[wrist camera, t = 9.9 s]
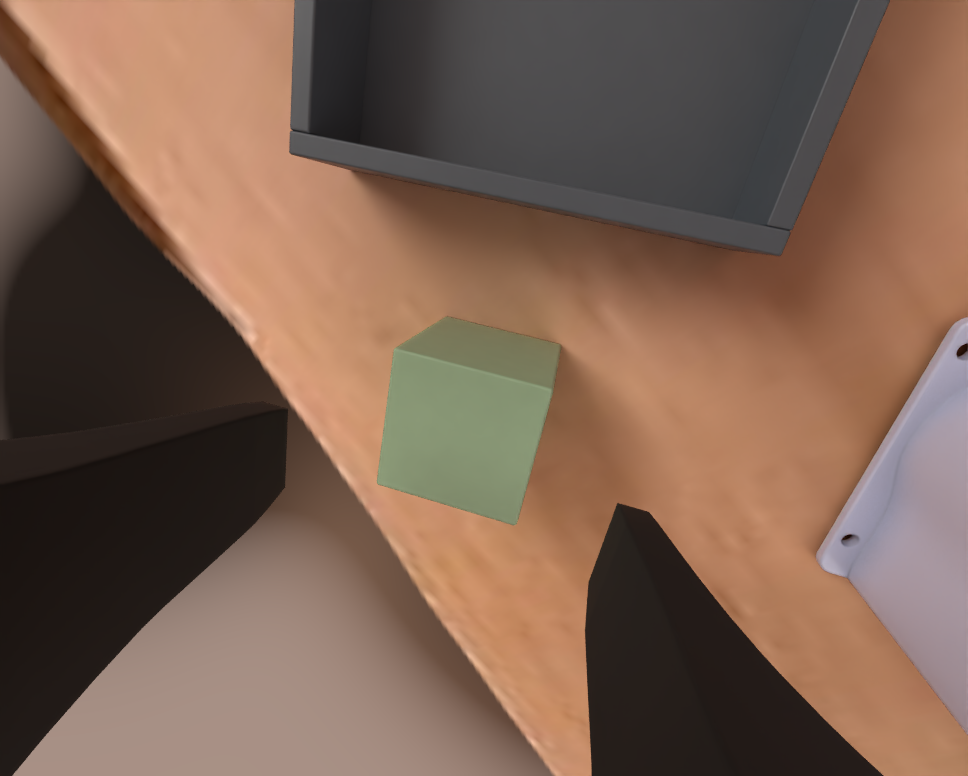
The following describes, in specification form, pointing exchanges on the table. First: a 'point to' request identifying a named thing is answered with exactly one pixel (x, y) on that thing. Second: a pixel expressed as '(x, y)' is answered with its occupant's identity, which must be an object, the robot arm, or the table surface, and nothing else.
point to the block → (467, 416)
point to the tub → (588, 103)
